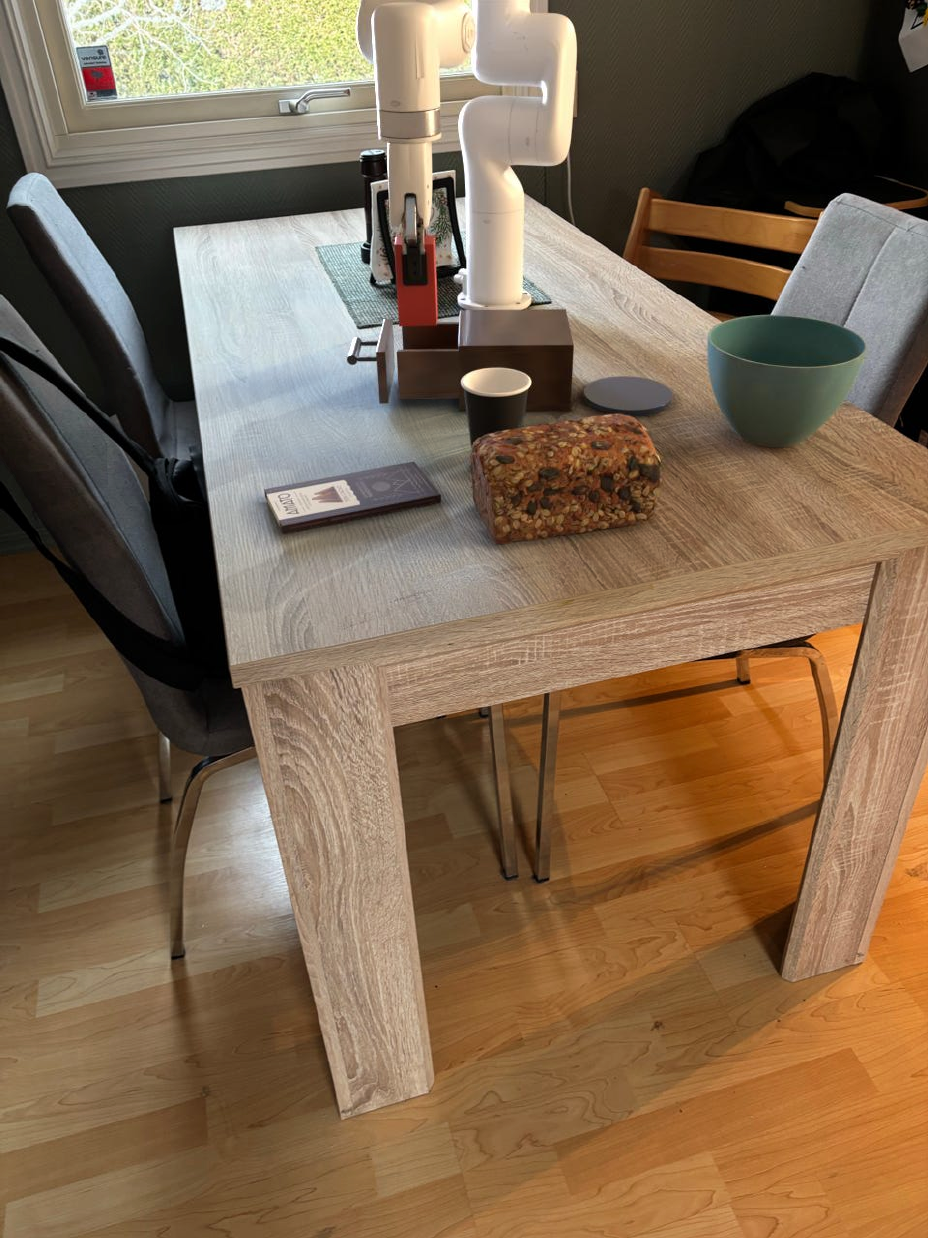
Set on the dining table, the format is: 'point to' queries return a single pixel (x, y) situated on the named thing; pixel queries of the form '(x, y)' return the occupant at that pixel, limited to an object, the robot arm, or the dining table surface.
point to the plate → (628, 395)
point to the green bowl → (781, 374)
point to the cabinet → (521, 351)
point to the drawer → (415, 361)
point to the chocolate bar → (350, 496)
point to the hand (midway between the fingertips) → (416, 277)
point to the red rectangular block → (417, 290)
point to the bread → (565, 477)
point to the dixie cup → (495, 400)
